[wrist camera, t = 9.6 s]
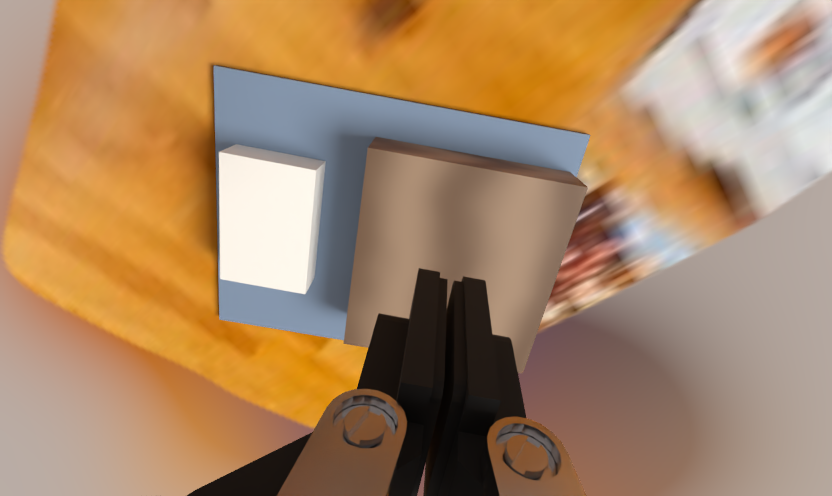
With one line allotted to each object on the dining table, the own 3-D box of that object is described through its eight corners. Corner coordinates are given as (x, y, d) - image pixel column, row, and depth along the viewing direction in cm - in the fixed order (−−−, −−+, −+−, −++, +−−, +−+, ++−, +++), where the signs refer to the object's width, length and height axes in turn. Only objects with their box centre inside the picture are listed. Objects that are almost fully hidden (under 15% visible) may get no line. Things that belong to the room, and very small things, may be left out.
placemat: (588, 134, 28) (590, 135, 27) (511, 364, 36) (512, 368, 35) (216, 65, 27) (213, 65, 27) (221, 316, 35) (219, 319, 34)
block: (570, 172, 28) (587, 187, 25) (514, 342, 34) (522, 373, 31) (375, 136, 28) (367, 147, 25) (352, 315, 34) (343, 343, 30)
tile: (218, 151, 26) (236, 144, 29) (219, 279, 30) (235, 263, 32) (316, 170, 26) (325, 161, 29) (305, 294, 30) (314, 277, 32)
